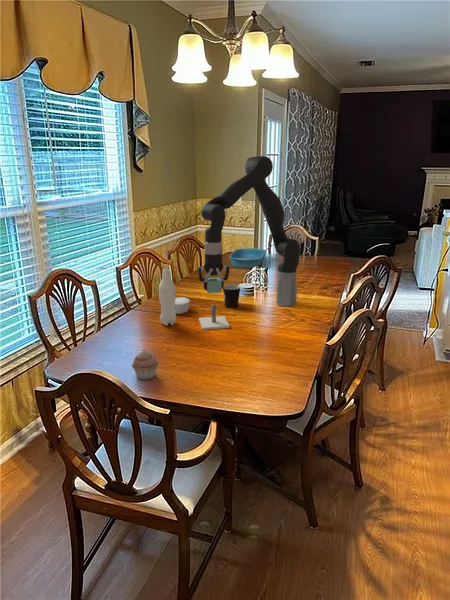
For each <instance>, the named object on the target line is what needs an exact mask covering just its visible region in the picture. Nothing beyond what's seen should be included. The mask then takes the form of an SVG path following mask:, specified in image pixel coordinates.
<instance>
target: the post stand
mask: <svg viewBox="0 0 450 600" xmlns="http://www.w3.org/2000/svg"><path fill="white" fill-rule="evenodd" d="M216 308H217V304H214V303H213V304H211V316H207V317H198V321H199V325H200V327H201V330H202V331H205V330H207V331H209V330H220V329H230V328H231V327H230V324H229V322H228V320H227V318H226V316H225V315H223V316H221V315H220V316H217V310H216Z"/></svg>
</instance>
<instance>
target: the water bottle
mask: <svg viewBox="0 0 450 600" xmlns="http://www.w3.org/2000/svg"><path fill="white" fill-rule="evenodd" d="M161 275H162V279H161V281H160V283H159V285H158V291H159V292H158V295H159V296H158V297H159V298H158V299H159V304H160V310H161V311H160V316H159V319H160V320H159V321H160V322H161V324H162V325H163V326H166V327H167V326H168V325H169V324H170V325H171V326H173V325H174V324H175V323H176V320H177V314H175V309H174V304H175V300H176V299H175V297H176V286H175V283H174V281H173V280H172V278H171V271H170V269H169V268H164V269H162V274H161Z"/></svg>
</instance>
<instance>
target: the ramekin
mask: <svg viewBox="0 0 450 600" xmlns="http://www.w3.org/2000/svg"><path fill="white" fill-rule="evenodd" d="M175 299H176V300H175V304H174V309H175V314H176V315H177V314H178V315H179V314H181V315H182V314H186V313H188V311H189V310H190V309H189V308H190V303H191V300H190V299H189V298H187V297H184V296H183V297H182V296H175Z"/></svg>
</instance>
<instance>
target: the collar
mask: <svg viewBox="0 0 450 600" xmlns="http://www.w3.org/2000/svg"><path fill="white" fill-rule="evenodd" d="M222 291H223V288H222V281H221V280H220V278H219V277H209V278H208V280H207V290H206V293H207V294H216V293H217V294H218V293H219V294H220V293H222Z"/></svg>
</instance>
